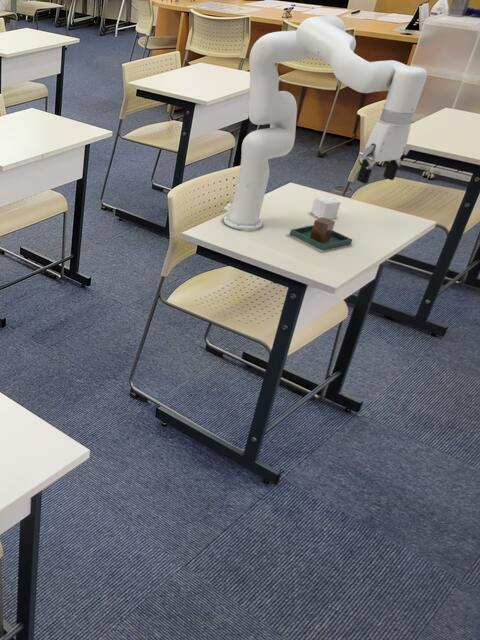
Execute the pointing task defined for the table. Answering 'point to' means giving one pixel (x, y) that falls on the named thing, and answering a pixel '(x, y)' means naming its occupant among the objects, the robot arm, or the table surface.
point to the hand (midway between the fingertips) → (375, 180)
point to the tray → (334, 242)
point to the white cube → (325, 207)
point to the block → (322, 230)
